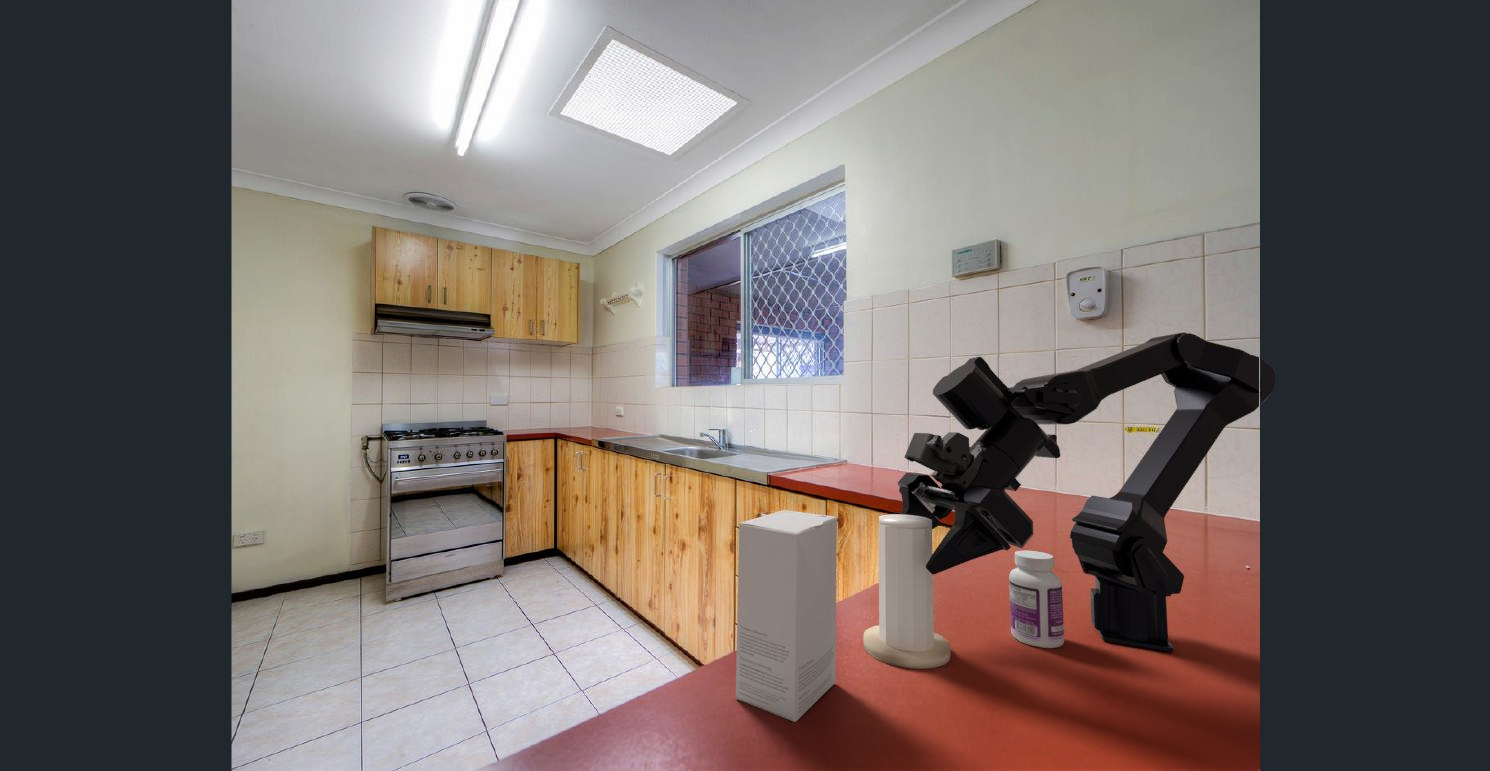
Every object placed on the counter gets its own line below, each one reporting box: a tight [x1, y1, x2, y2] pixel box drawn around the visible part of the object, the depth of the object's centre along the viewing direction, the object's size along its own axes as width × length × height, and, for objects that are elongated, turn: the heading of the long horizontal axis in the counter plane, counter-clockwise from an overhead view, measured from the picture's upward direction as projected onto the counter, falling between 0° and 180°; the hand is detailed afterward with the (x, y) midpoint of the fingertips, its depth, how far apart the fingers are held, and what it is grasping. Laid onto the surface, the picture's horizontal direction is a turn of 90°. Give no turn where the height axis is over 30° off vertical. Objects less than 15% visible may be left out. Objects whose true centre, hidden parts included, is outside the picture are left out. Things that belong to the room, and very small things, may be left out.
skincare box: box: [735, 509, 838, 723], centre depth 47 cm, size 8×7×16 cm
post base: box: [863, 624, 951, 670], centre depth 56 cm, size 9×9×4 cm
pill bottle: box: [1008, 550, 1065, 649], centre depth 59 cm, size 5×5×10 cm
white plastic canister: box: [878, 513, 935, 651], centre depth 56 cm, size 6×6×13 cm
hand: (907, 559), depth 57 cm, fingers open, 9 cm apart
